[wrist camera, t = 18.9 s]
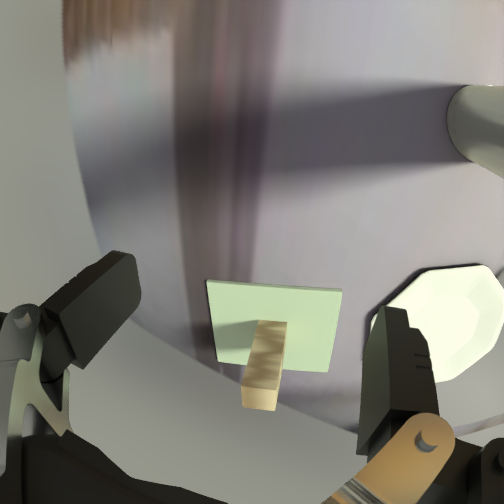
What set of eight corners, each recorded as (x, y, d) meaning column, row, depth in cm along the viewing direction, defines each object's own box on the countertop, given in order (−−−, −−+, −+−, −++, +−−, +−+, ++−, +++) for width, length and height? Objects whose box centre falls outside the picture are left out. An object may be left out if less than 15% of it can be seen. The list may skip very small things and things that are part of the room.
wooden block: (287, 322, 42) (276, 390, 32) (285, 344, 44) (274, 411, 34) (258, 319, 43) (241, 386, 33) (259, 341, 45) (242, 406, 35)
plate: (517, 256, 31) (522, 261, 30) (480, 367, 42) (482, 373, 40) (371, 269, 37) (373, 276, 36) (363, 384, 48) (363, 391, 46)
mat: (342, 289, 39) (342, 292, 38) (327, 369, 46) (327, 372, 46) (207, 279, 42) (206, 281, 41) (218, 358, 50) (218, 361, 49)
